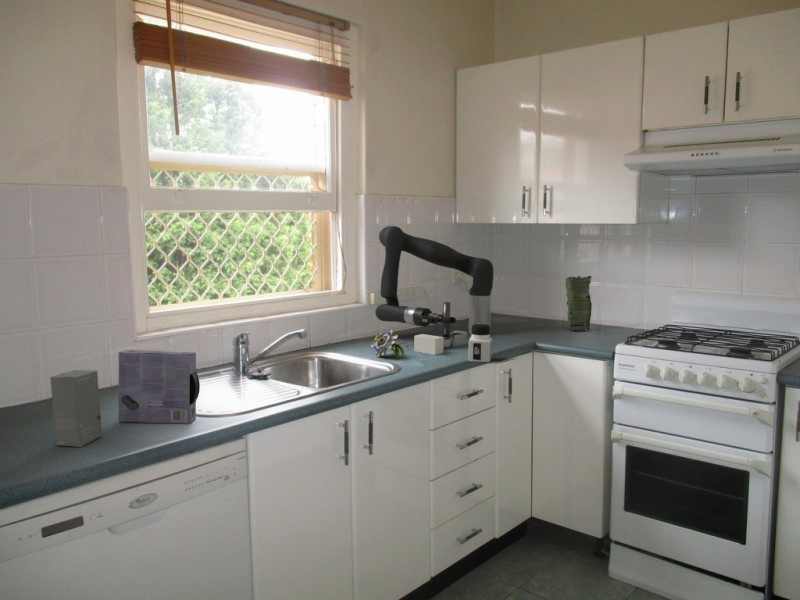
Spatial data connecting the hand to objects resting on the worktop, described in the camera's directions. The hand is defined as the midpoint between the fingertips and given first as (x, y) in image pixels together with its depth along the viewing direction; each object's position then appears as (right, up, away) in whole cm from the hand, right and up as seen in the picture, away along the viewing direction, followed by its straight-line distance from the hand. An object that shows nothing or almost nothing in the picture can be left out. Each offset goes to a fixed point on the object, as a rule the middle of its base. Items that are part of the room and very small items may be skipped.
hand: (452, 320), depth 257 cm
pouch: (+61, -6, +47) cm, 78 cm away
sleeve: (+2, -10, +8) cm, 13 cm away
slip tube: (-1, -10, +5) cm, 12 cm away
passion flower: (-24, -13, -13) cm, 31 cm away
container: (+9, -14, -18) cm, 24 cm away
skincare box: (-93, -24, -106) cm, 143 cm away
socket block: (-9, -12, -5) cm, 16 cm away
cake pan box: (-80, -22, -91) cm, 124 cm away
